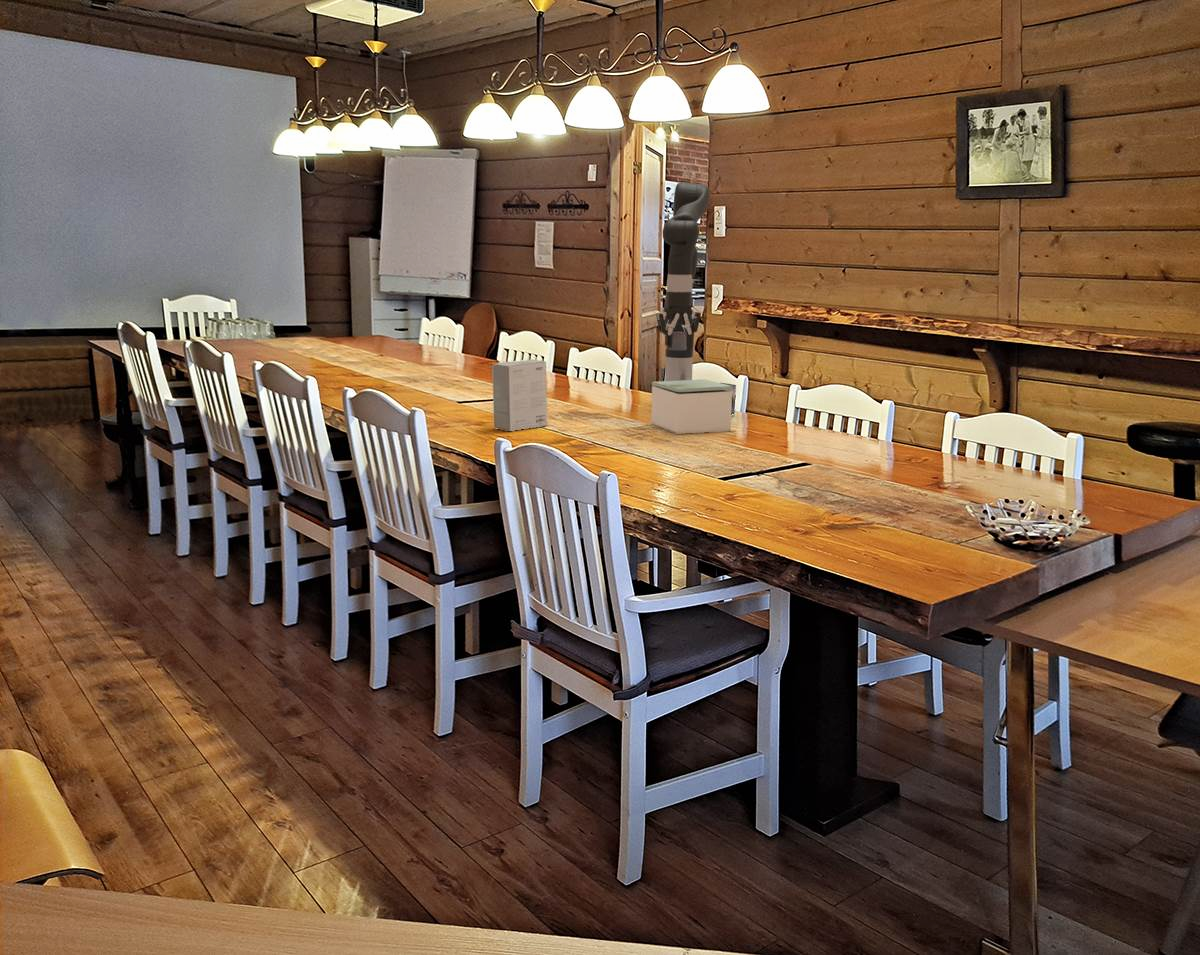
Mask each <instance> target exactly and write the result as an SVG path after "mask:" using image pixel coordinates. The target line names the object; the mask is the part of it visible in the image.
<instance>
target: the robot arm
mask: <svg viewBox="0 0 1200 955" xmlns="http://www.w3.org/2000/svg"><path fill="white" fill-rule="evenodd" d="M673 193H674V195H673V206H672V207H673V210H672V217H670V218H669V219H668V220H667V221H666V222H665V224H664V225H663V229H662V238H663V242H665V243H666V245H667V244H668V245H669V246H670V247H669V248H670V249H669V256H668V260H667V261H668V262H667V280H666V291H665V292H666V293H665V299H664V306H663V309H662V310H663V311H662V312H657V313H656V314H655V316H656V321H657V327H658V332H659V333H660V334H663V336H664V346H666V349H665V364H664V365H665V366H664V368H665V369H664V371H665V372H664V381H681V380H693V366H694V365H693V362H694V359H693V357H694V356H693V355H694V341H695V340H694V339H695V333H697V332H698V329H699V325H700V321H701V315H702V314H701V312H699V311H698V312H697V311H694V310H693V309H692V304H693V303H692V302H693V279H694V277H695V275H696V272H697V268H698V266H697V265H698V260H699V258H698V256H699V255H698V253H699V252H698V250H697V247H696V245H697V242H698V239H699V236H700V226H699V224H698V221H699V220H700V219H701V218H702V217H703V216H704V215H705V214H706V212H707V211H708V207H709V204H710V195H711V194H710V188H709V187H708V185H705V184H702V183H695V182H694V183H693V182H686V181H682V182H681V181H680V182H678V183H676V186H675V189H674V192H673ZM672 332H686V333H687V345H686V350H681V351H677V350H669V348H671V347H672V336H671V333H672Z"/></svg>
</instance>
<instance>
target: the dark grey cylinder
mask: <svg viewBox="0 0 1200 955" xmlns="http://www.w3.org/2000/svg"><path fill="white" fill-rule="evenodd" d="M671 336H672V347H671V348H669V350H677V351H681V350H686V345H687V333H686V332H672V333H671Z"/></svg>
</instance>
